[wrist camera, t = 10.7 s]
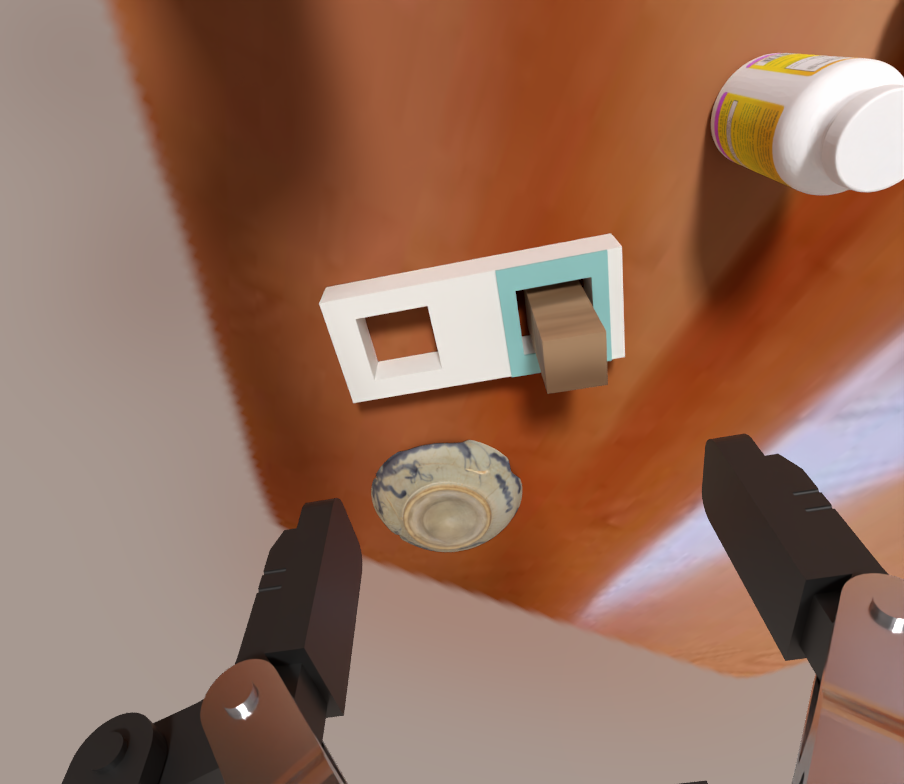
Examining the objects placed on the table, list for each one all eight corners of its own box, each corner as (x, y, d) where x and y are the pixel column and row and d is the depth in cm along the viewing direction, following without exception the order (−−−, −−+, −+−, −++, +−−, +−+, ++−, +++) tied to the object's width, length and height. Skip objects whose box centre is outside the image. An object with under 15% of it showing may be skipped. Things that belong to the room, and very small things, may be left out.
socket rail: (325, 287, 44) (318, 304, 41) (611, 233, 42) (622, 247, 39) (357, 383, 49) (353, 404, 46) (614, 339, 47) (625, 358, 44)
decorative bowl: (551, 470, 55) (415, 410, 51) (558, 496, 52) (414, 435, 48) (472, 560, 62) (347, 514, 58) (474, 588, 59) (342, 542, 55)
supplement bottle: (745, 182, 40) (856, 240, 30) (686, 117, 38) (784, 154, 27) (830, 101, 38) (987, 132, 27) (773, 25, 35) (920, 26, 24)
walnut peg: (522, 281, 44) (542, 341, 36) (574, 272, 44) (606, 331, 35) (527, 327, 46) (547, 393, 38) (576, 318, 46) (607, 384, 38)
